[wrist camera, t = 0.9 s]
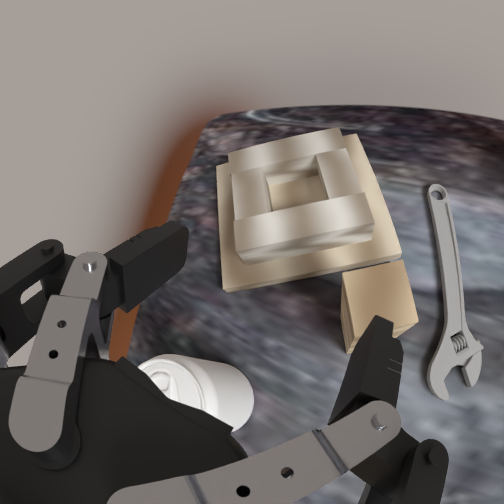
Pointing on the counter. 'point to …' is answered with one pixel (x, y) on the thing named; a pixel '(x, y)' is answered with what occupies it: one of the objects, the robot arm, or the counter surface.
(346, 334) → the tan long rectangular block
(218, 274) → the counter surface
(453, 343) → the adjustable wrench
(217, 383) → the beverage can
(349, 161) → the wooden socket base
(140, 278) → the robot arm
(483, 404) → the counter surface
